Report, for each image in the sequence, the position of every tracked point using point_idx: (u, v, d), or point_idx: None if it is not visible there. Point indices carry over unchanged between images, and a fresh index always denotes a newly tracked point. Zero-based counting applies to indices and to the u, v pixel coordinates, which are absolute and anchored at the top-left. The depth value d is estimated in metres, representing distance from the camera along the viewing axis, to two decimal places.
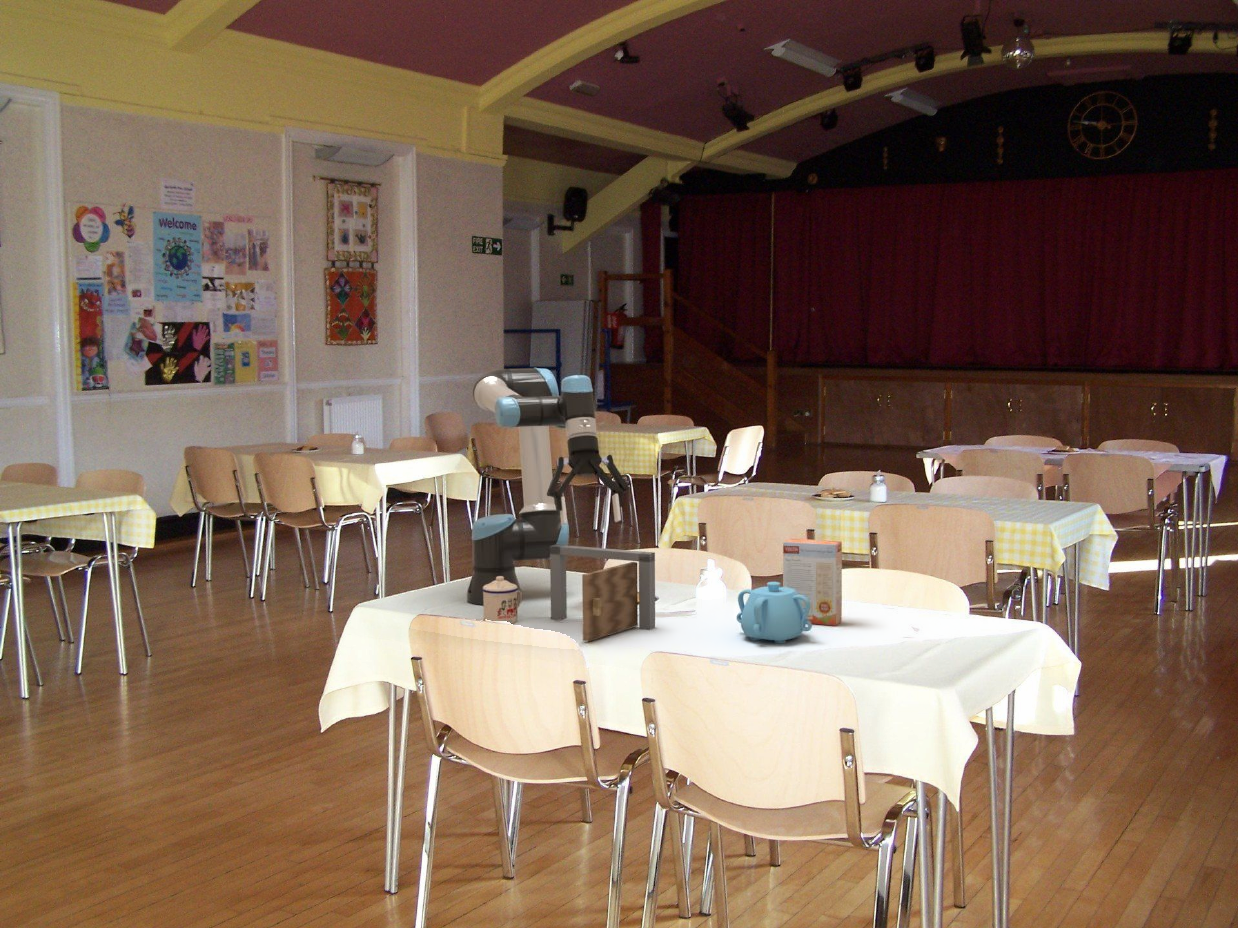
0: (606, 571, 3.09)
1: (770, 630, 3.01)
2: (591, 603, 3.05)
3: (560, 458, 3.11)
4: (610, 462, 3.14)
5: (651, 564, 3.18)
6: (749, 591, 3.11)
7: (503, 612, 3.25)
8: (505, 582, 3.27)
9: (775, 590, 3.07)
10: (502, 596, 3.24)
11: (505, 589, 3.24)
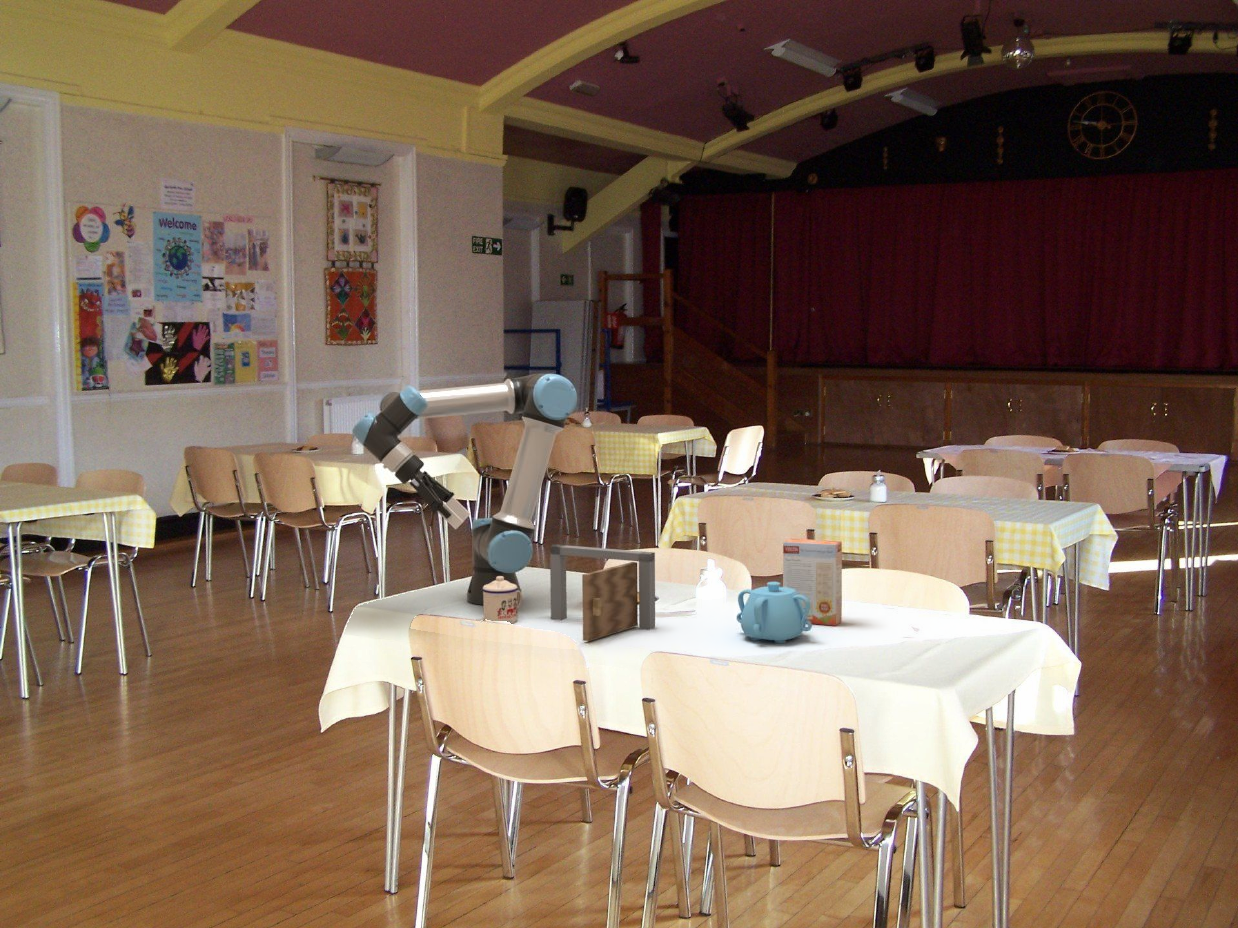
0: (606, 571, 3.09)
1: (770, 630, 3.01)
2: (591, 603, 3.05)
3: None
4: None
5: (651, 564, 3.18)
6: (749, 591, 3.11)
7: (503, 612, 3.25)
8: (505, 582, 3.27)
9: (775, 590, 3.07)
10: (502, 596, 3.24)
11: (505, 589, 3.24)
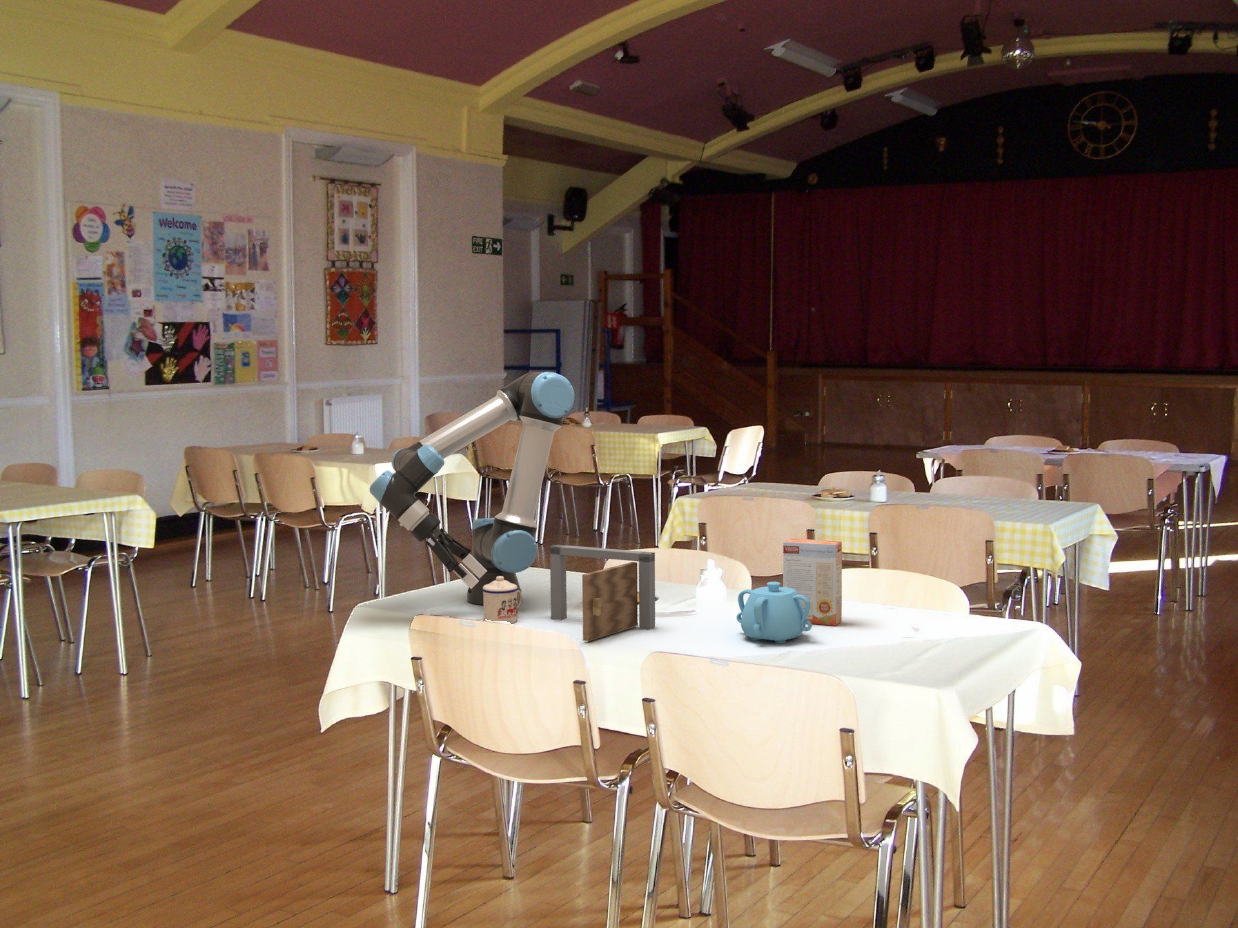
0: (606, 571, 3.09)
1: (770, 630, 3.01)
2: (591, 603, 3.05)
3: None
4: None
5: (651, 564, 3.18)
6: (749, 591, 3.11)
7: (503, 612, 3.25)
8: (505, 582, 3.27)
9: (775, 590, 3.07)
10: (502, 596, 3.24)
11: (505, 589, 3.24)
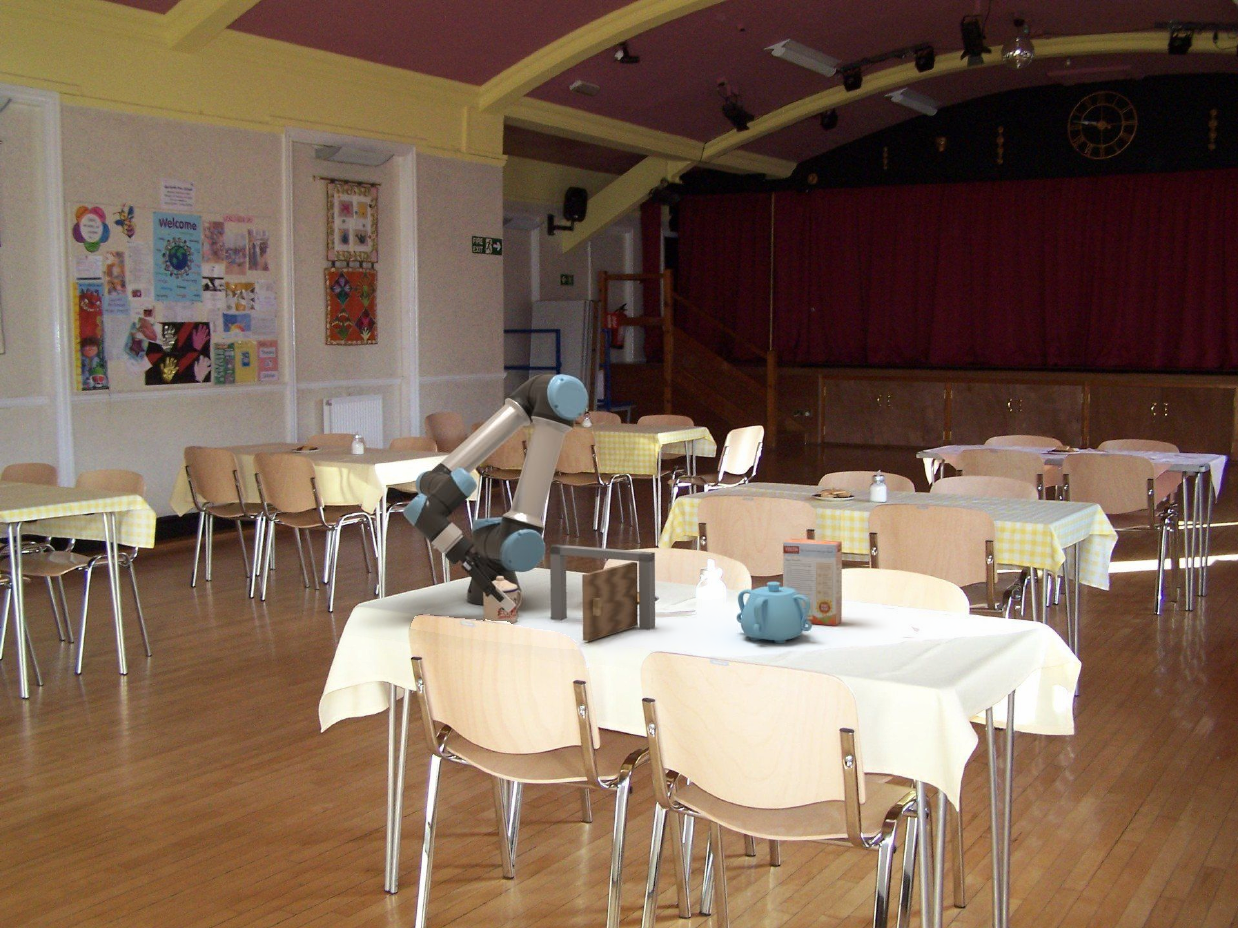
0: (606, 571, 3.09)
1: (770, 630, 3.01)
2: (591, 603, 3.05)
3: None
4: None
5: (651, 564, 3.18)
6: (749, 591, 3.11)
7: (503, 612, 3.25)
8: (505, 582, 3.27)
9: (775, 590, 3.07)
10: None
11: (505, 589, 3.24)
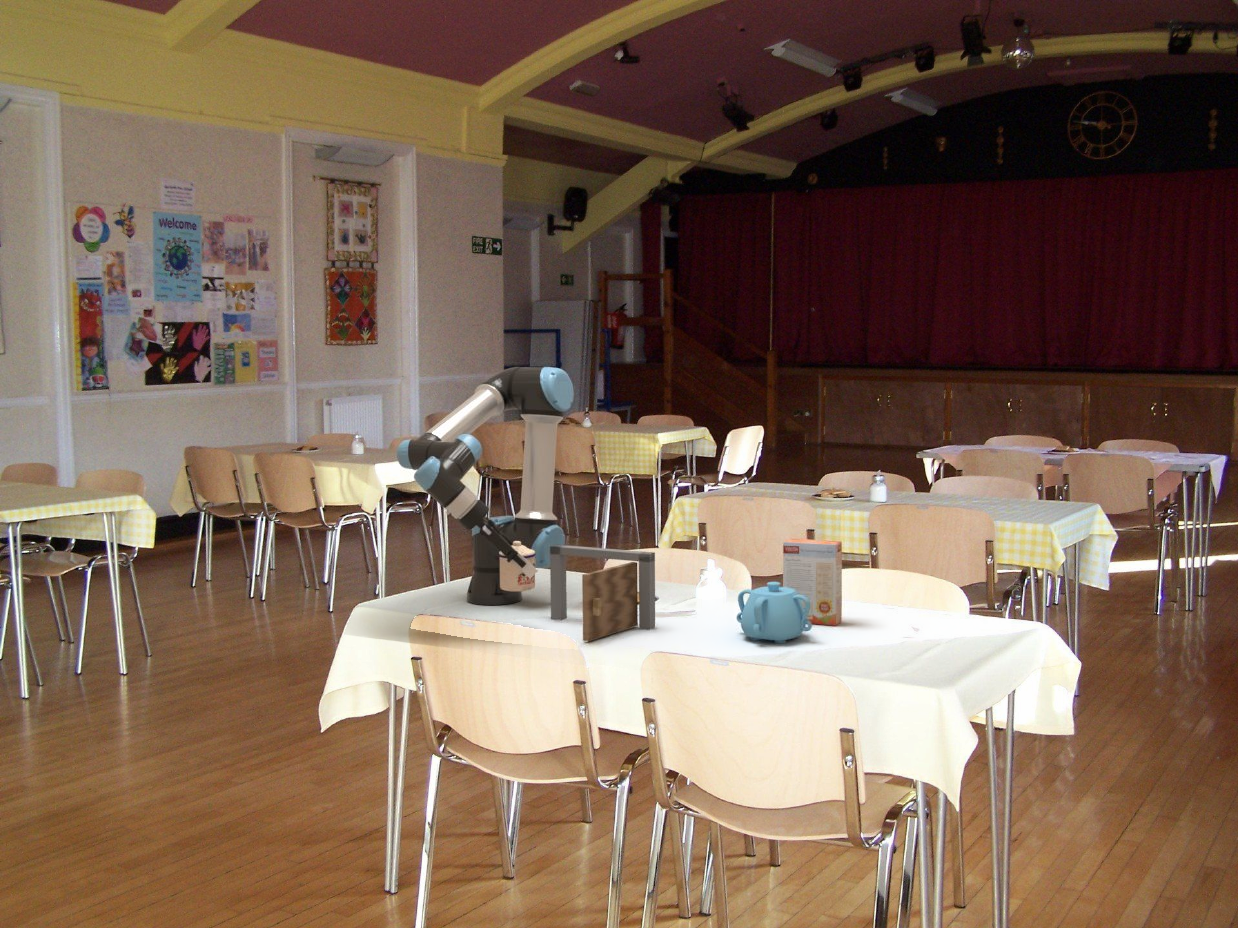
0: (606, 571, 3.09)
1: (770, 630, 3.01)
2: (591, 603, 3.05)
3: None
4: (486, 536, 3.08)
5: (651, 564, 3.18)
6: (749, 591, 3.11)
7: (523, 578, 3.12)
8: (523, 546, 3.14)
9: (775, 590, 3.07)
10: None
11: (525, 554, 3.11)
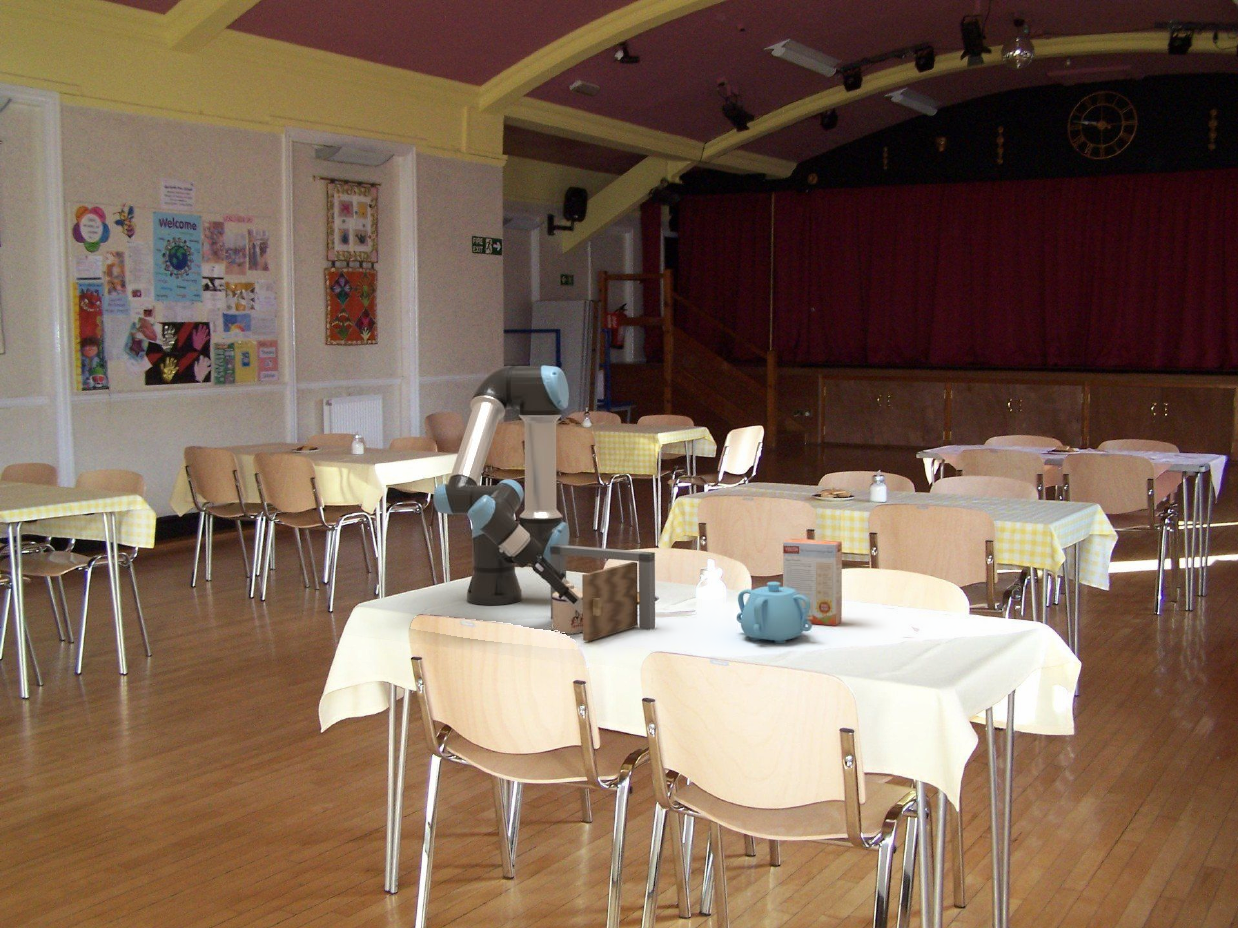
0: (606, 571, 3.09)
1: (770, 630, 3.01)
2: (591, 603, 3.05)
3: None
4: (539, 573, 3.11)
5: (651, 564, 3.18)
6: (749, 591, 3.11)
7: (577, 621, 3.15)
8: (576, 589, 3.17)
9: (775, 590, 3.07)
10: None
11: None
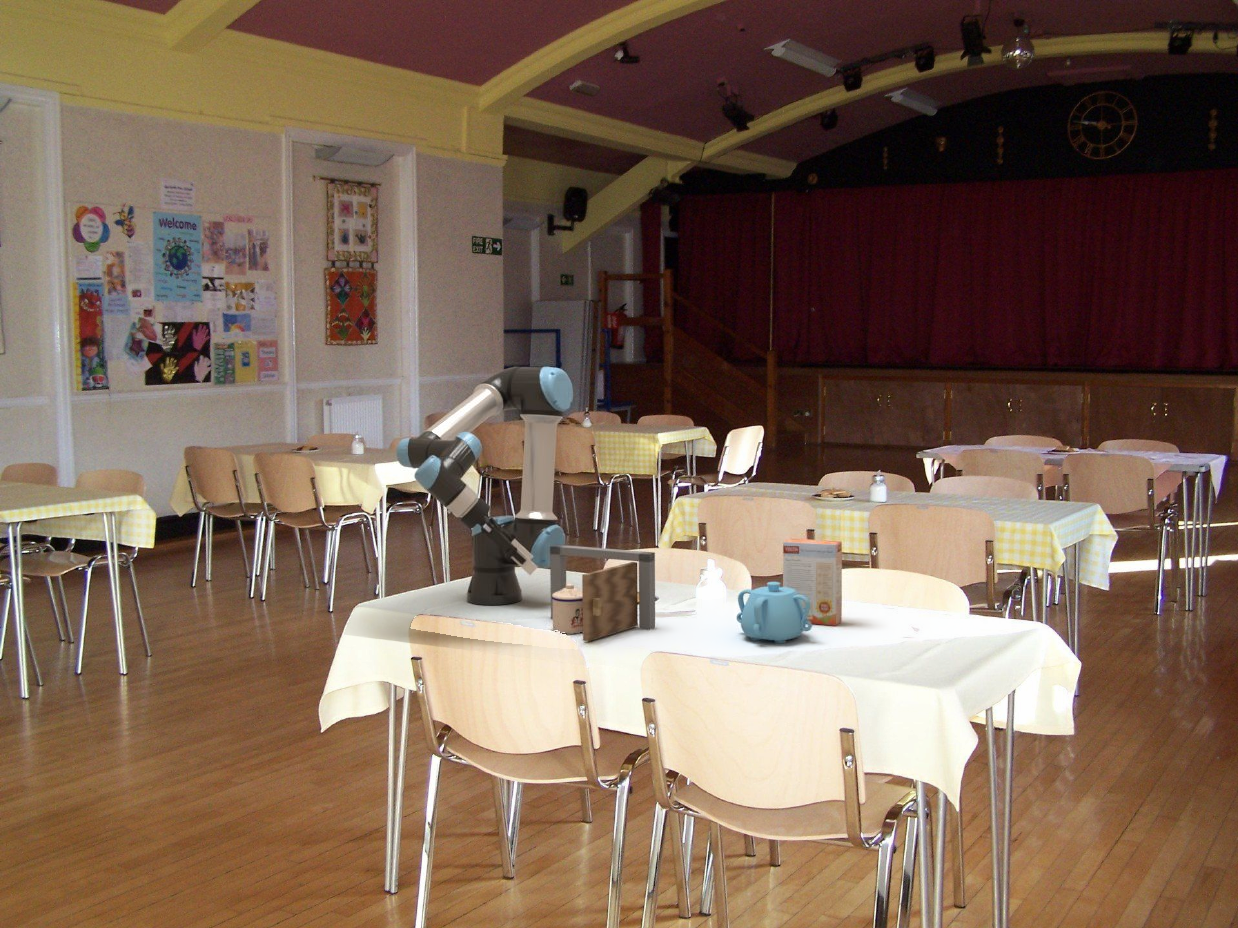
0: (606, 571, 3.09)
1: (770, 630, 3.01)
2: (591, 603, 3.05)
3: None
4: (486, 534, 3.08)
5: (651, 564, 3.18)
6: (749, 591, 3.11)
7: (577, 621, 3.15)
8: (576, 589, 3.17)
9: (775, 590, 3.07)
10: (575, 604, 3.14)
11: (579, 597, 3.14)
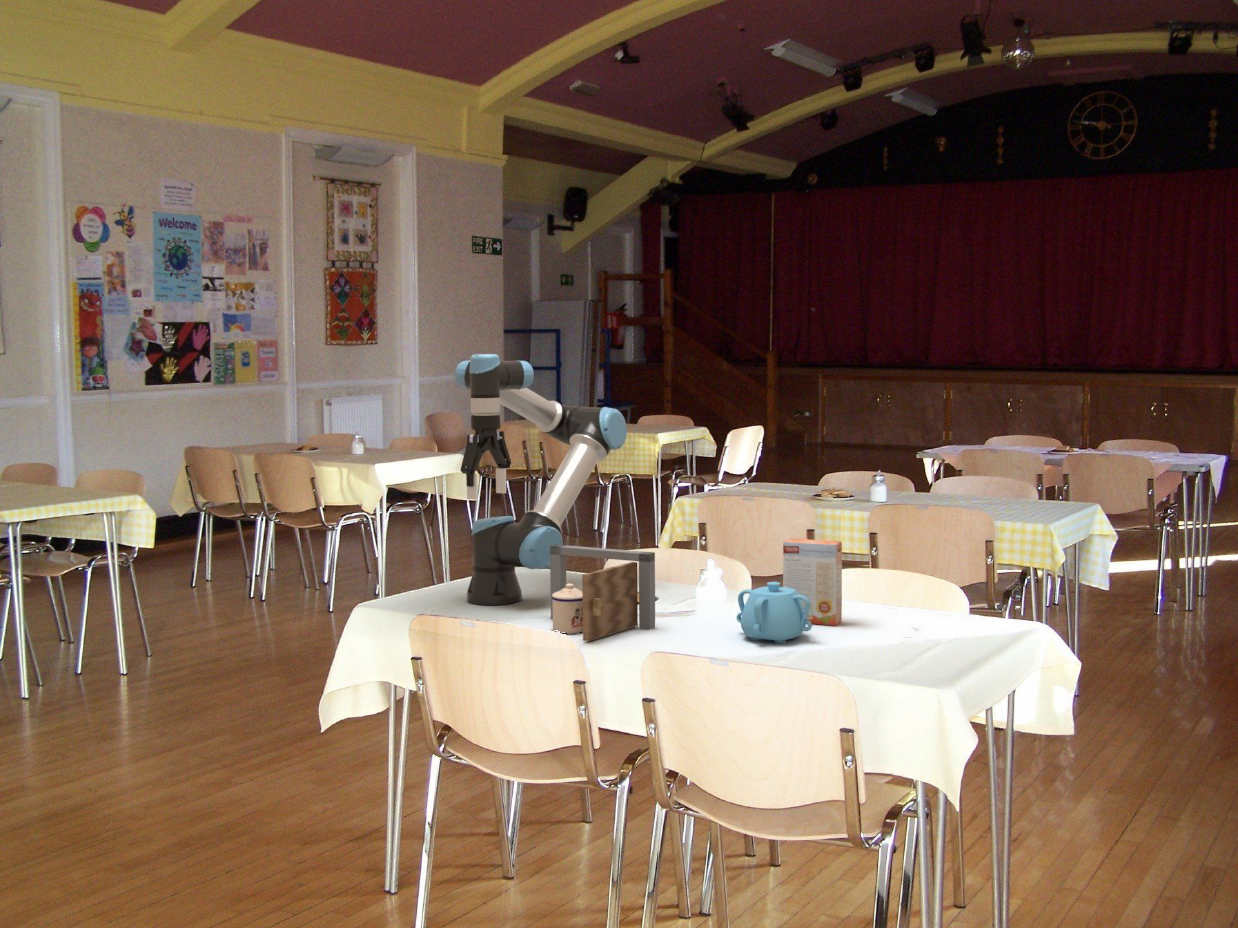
0: (606, 571, 3.09)
1: (770, 630, 3.01)
2: (591, 603, 3.05)
3: None
4: None
5: (651, 564, 3.18)
6: (749, 591, 3.11)
7: (577, 621, 3.15)
8: (576, 589, 3.17)
9: (775, 590, 3.07)
10: (575, 604, 3.14)
11: (579, 597, 3.14)
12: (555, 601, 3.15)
